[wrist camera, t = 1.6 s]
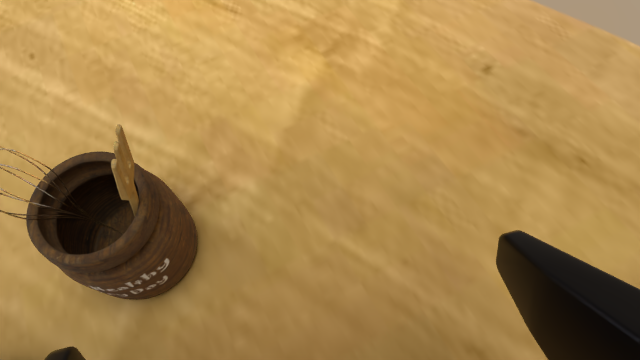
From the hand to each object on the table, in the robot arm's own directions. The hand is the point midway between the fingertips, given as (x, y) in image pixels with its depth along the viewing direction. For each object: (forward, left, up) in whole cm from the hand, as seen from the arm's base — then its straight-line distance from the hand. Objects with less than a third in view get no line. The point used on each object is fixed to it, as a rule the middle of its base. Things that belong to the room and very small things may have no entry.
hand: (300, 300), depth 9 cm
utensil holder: (+2, +10, -15) cm, 18 cm away
